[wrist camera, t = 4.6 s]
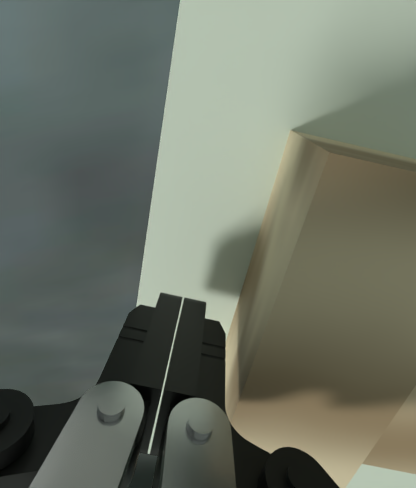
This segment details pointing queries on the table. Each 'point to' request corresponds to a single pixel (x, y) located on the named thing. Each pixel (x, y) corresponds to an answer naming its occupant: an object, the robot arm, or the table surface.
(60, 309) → the table surface
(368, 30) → the sage board
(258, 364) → the wooden T-block
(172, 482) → the robot arm
